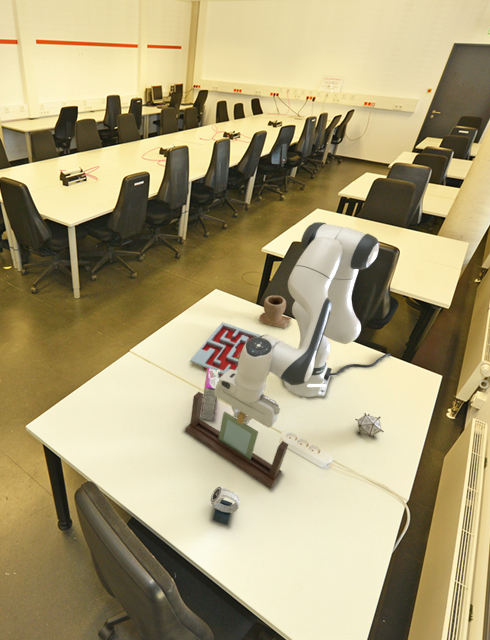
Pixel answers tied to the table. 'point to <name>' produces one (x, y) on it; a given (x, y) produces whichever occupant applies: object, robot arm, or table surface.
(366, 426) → the game die
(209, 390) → the candy bar box
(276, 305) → the stone cup
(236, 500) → the watch
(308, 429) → the table surface
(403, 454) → the table surface
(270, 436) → the table surface
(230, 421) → the window pane
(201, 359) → the maze game
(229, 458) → the window frame
